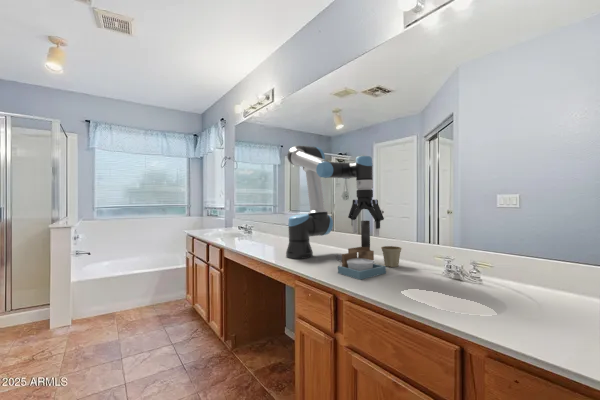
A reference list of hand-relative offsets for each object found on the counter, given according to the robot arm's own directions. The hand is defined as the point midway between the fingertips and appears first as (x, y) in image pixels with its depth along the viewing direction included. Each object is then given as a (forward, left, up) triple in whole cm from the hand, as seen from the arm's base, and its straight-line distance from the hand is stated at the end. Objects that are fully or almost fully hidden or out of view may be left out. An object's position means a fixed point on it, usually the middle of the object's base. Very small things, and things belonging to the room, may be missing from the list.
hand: (365, 234), depth 137 cm
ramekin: (+11, -5, -15) cm, 20 cm away
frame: (+12, -5, -15) cm, 20 cm away
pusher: (+4, -5, -15) cm, 16 cm away
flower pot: (0, +12, -15) cm, 20 cm away
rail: (-8, -5, -15) cm, 18 cm away
